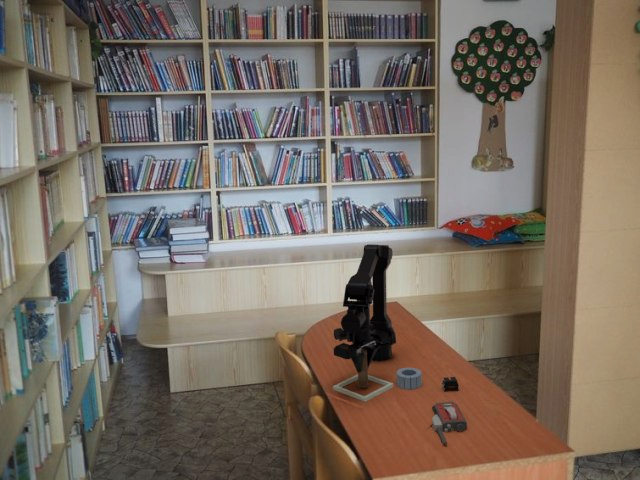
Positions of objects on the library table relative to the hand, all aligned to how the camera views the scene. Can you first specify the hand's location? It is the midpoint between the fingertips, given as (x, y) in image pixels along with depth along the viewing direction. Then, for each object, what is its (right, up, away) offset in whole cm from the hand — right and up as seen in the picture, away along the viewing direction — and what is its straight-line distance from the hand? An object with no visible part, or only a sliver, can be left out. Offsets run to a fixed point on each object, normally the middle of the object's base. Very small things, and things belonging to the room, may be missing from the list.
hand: (362, 370), depth 197 cm
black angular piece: (+26, -6, -2) cm, 27 cm away
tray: (0, -6, +1) cm, 6 cm away
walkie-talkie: (+22, -11, -23) cm, 33 cm away
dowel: (0, -5, +1) cm, 5 cm away
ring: (+14, -5, +2) cm, 16 cm away
